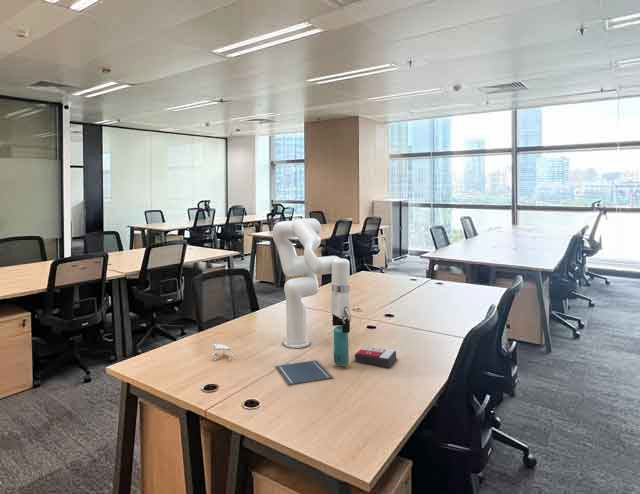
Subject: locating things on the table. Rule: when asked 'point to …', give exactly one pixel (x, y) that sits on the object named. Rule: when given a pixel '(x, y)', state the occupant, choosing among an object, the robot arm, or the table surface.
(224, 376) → the table surface
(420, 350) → the table surface
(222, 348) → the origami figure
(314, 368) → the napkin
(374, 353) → the black buttoned block
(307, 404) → the table surface
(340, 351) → the beverage bottle
